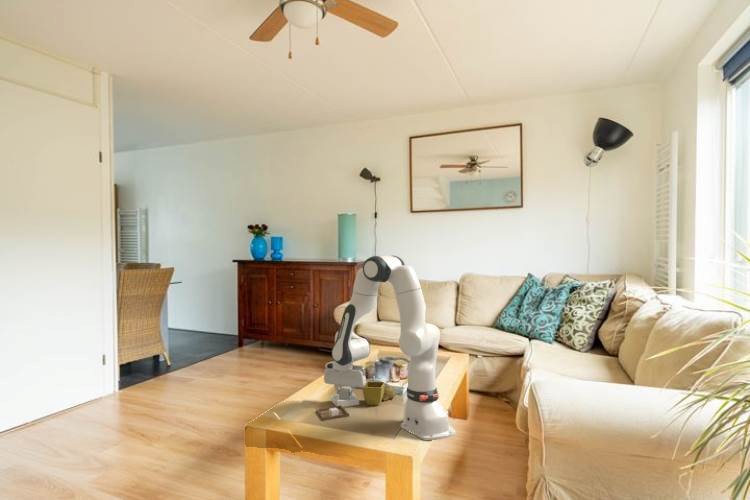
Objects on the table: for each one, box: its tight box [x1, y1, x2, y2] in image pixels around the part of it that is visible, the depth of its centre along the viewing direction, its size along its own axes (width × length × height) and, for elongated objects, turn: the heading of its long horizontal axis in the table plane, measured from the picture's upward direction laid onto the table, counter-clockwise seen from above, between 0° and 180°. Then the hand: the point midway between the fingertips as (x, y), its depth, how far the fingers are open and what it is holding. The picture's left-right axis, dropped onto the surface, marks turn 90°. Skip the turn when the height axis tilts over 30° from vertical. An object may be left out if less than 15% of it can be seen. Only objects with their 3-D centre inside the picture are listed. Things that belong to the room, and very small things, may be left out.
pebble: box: [338, 386, 352, 400], centre depth 184 cm, size 4×4×4 cm
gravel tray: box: [316, 405, 350, 422], centre depth 170 cm, size 11×11×2 cm
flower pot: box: [362, 380, 386, 406], centre depth 183 cm, size 9×9×9 cm
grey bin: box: [331, 393, 360, 408], centre depth 184 cm, size 10×10×3 cm
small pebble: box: [329, 408, 339, 417], centre depth 167 cm, size 3×3×3 cm
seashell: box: [381, 385, 396, 402], centre depth 189 cm, size 10×7×8 cm
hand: (345, 394), depth 184 cm, fingers open, 5 cm apart
